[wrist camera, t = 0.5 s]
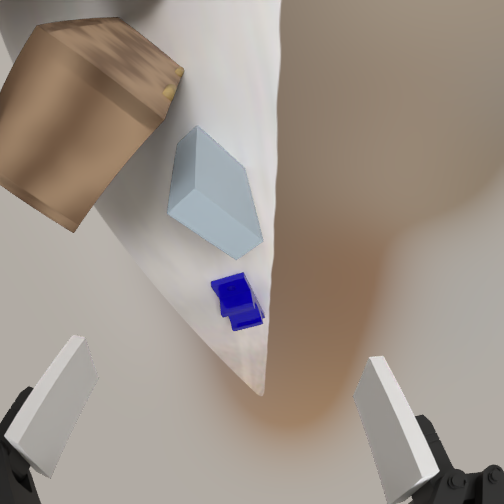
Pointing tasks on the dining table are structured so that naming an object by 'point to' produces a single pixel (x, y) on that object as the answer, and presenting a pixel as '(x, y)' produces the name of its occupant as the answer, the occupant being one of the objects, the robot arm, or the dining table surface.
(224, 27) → the dining table surface
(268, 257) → the dining table surface
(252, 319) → the mounting bracket
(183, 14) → the dining table surface
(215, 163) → the upright grey-blue slab
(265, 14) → the dining table surface
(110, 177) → the cabinet
